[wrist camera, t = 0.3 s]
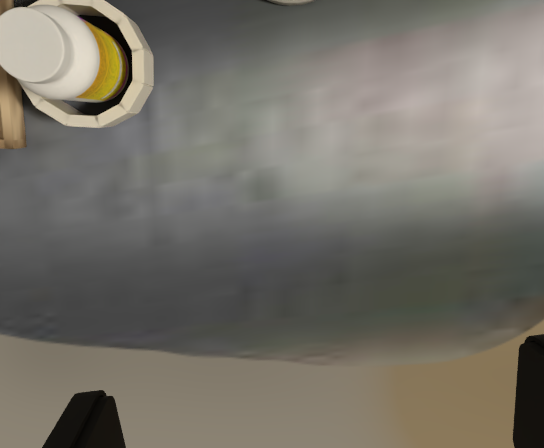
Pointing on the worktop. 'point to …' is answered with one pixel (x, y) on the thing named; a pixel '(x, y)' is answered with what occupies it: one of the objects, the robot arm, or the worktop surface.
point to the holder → (93, 4)
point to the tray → (10, 103)
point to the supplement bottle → (61, 55)
